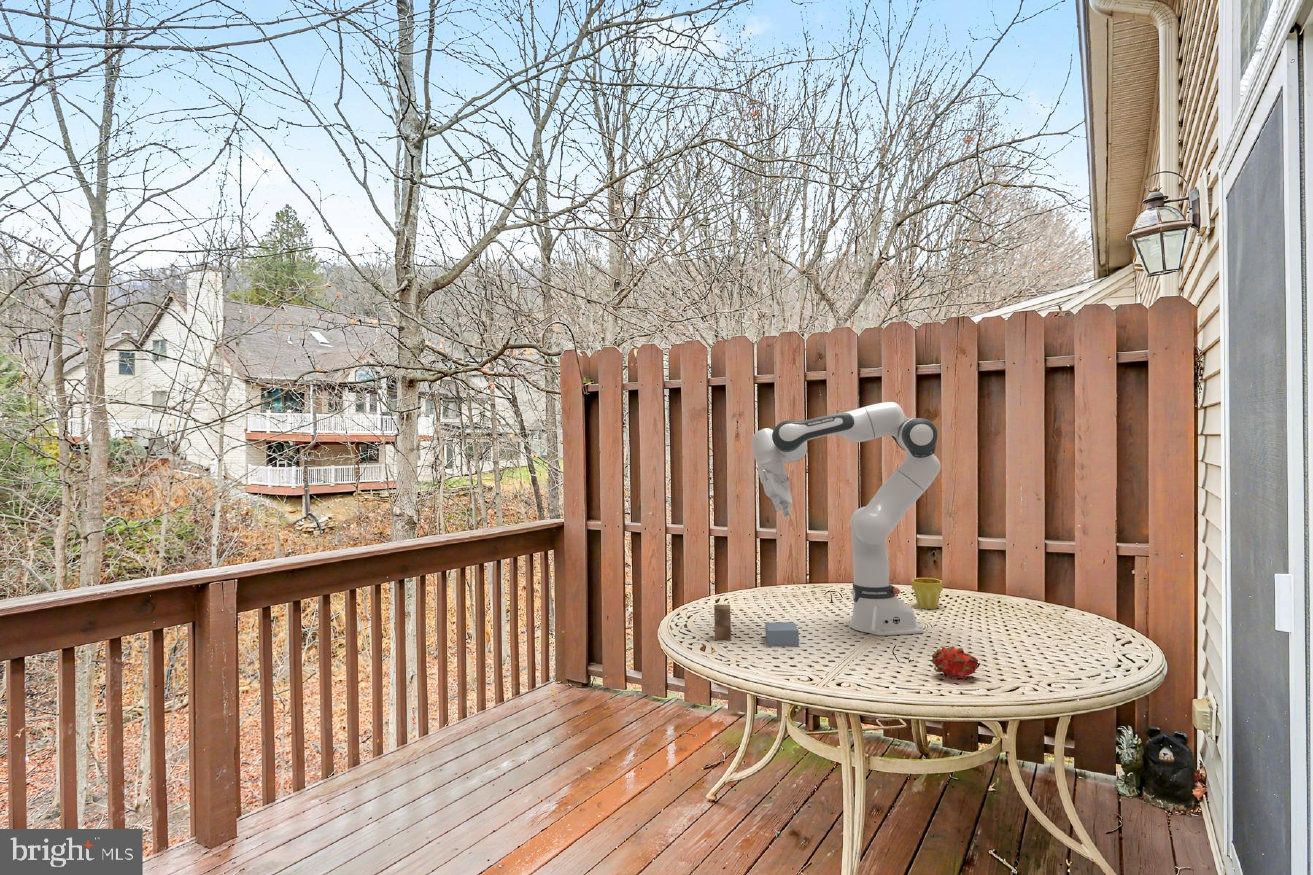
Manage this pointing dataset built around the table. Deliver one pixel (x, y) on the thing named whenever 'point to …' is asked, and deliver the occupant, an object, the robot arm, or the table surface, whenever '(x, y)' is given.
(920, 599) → the plant pot
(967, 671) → the dragon fruit
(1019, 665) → the table surface
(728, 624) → the walnut block
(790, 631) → the slate block
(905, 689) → the table surface
